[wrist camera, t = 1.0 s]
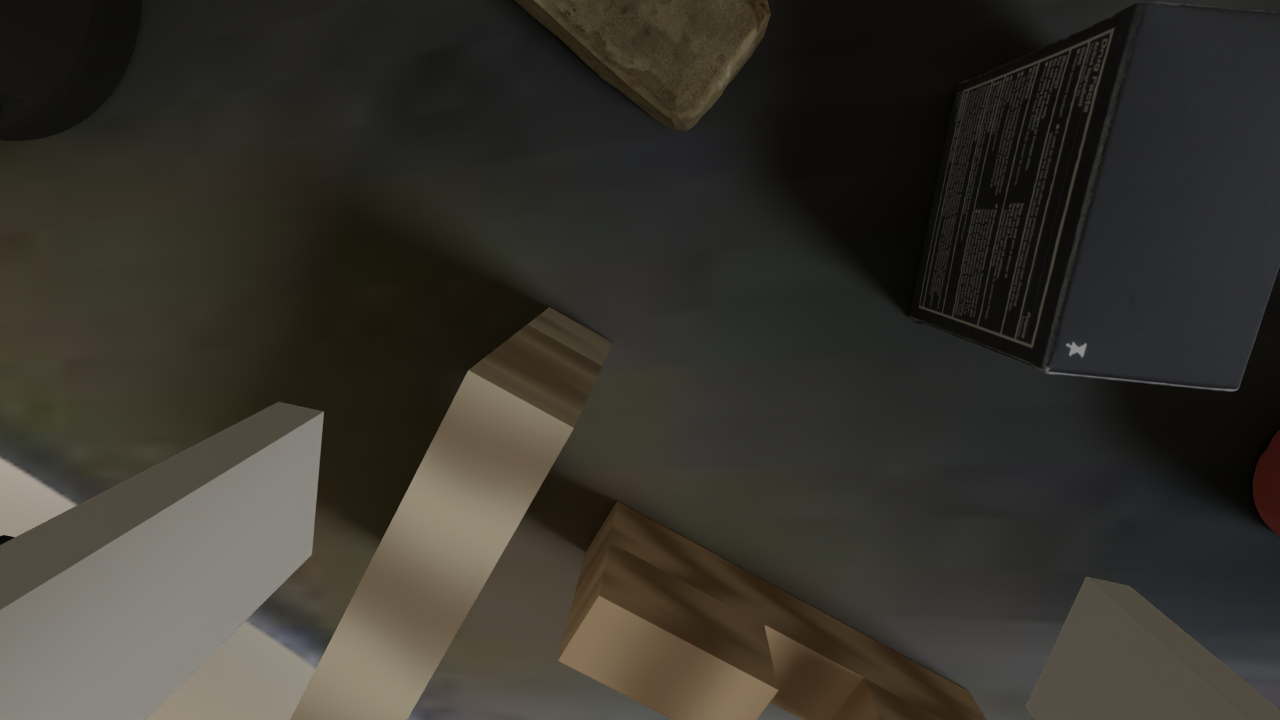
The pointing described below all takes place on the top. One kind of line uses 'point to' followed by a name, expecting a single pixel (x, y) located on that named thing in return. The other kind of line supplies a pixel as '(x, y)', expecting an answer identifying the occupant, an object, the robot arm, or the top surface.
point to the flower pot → (1269, 485)
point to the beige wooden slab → (456, 520)
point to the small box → (1115, 200)
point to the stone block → (660, 47)
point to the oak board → (730, 639)
